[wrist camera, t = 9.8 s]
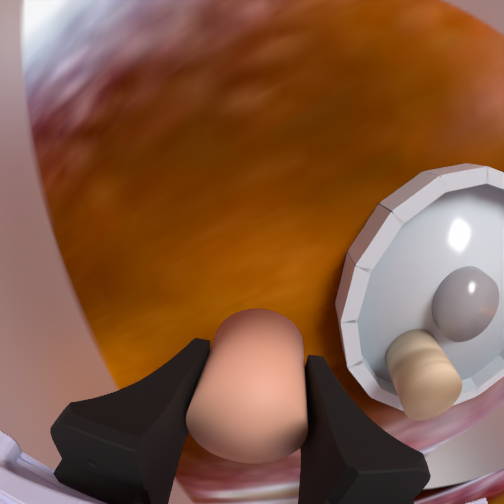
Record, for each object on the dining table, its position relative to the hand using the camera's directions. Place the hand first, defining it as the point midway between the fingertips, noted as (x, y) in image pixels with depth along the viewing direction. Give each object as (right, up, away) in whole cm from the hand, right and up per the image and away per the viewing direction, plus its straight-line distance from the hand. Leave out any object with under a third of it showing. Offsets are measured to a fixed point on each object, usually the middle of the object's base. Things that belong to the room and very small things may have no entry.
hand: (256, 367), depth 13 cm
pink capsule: (0, 0, +1) cm, 1 cm away
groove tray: (+14, +2, +7) cm, 16 cm away
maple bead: (+11, -2, +7) cm, 14 cm away
